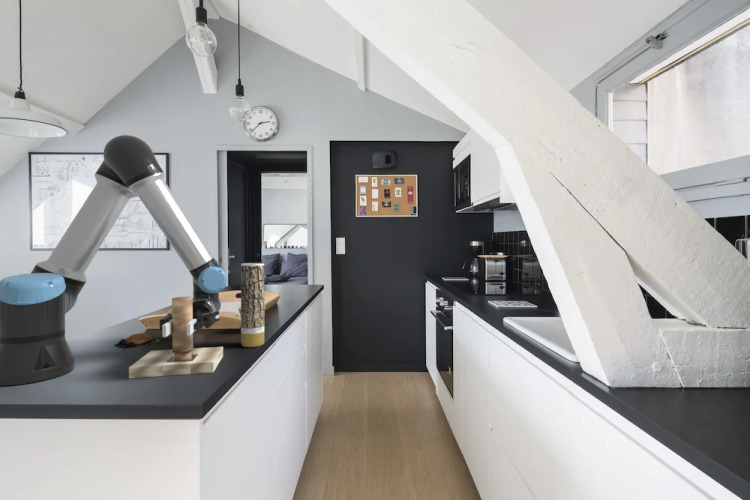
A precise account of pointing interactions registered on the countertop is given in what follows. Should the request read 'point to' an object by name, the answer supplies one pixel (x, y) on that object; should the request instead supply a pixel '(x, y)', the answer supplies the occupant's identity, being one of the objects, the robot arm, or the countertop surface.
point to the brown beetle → (136, 341)
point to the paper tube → (252, 304)
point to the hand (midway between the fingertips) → (176, 330)
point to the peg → (182, 328)
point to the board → (176, 363)
